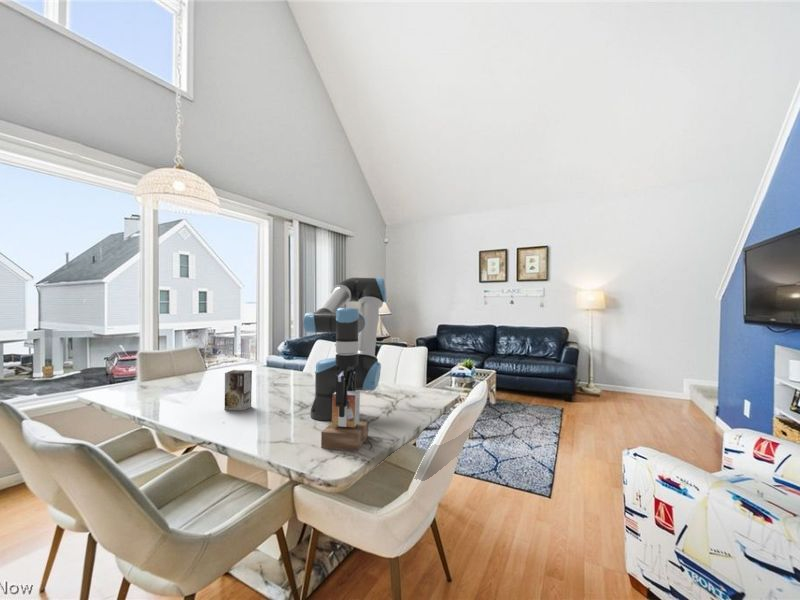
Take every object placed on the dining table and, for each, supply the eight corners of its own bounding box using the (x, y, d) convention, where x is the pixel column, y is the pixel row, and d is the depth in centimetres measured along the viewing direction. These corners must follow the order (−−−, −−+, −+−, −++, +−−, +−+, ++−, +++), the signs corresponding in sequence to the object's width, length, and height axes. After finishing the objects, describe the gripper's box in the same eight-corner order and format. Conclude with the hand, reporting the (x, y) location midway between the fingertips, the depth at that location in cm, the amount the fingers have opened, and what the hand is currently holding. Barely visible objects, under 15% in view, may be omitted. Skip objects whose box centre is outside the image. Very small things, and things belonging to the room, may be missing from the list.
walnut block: (335, 433, 115) (335, 419, 115) (367, 436, 113) (368, 421, 113) (321, 447, 103) (321, 431, 103) (357, 451, 101) (357, 435, 101)
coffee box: (251, 406, 144) (252, 370, 144) (243, 411, 138) (244, 373, 138) (232, 405, 145) (233, 369, 145) (223, 410, 139) (224, 372, 139)
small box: (331, 425, 106) (331, 393, 106) (337, 420, 112) (337, 389, 112) (354, 427, 105) (355, 395, 105) (359, 421, 110) (360, 390, 111)
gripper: (346, 349, 119) (344, 412, 118) (325, 357, 100) (323, 432, 100) (365, 350, 117) (364, 414, 117) (348, 358, 99) (346, 434, 98)
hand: (345, 422), depth 108 cm, fingers closed on small box, 6 cm apart
